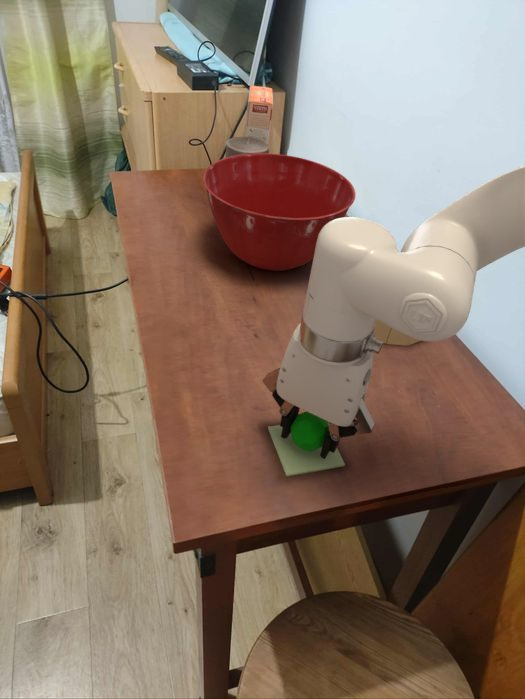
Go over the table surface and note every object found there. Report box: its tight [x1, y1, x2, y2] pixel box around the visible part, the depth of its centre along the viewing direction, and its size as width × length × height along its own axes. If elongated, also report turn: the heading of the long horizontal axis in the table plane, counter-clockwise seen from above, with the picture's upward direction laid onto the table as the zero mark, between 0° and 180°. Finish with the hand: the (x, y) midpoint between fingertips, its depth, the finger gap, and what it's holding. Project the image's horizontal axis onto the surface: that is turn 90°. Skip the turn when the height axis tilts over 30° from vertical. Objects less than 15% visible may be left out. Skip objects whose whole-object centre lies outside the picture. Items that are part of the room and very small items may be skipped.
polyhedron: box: [291, 411, 330, 451], centre depth 65 cm, size 5×5×5 cm
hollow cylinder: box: [373, 319, 422, 347], centre depth 90 cm, size 14×14×4 cm
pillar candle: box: [225, 136, 270, 158], centre depth 117 cm, size 10×10×15 cm
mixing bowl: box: [202, 152, 356, 272], centre depth 100 cm, size 28×28×16 cm
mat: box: [267, 424, 346, 478], centre depth 67 cm, size 8×8×1 cm
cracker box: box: [244, 85, 274, 145], centre depth 126 cm, size 14×6×21 cm, turn 179°
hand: (307, 440), depth 66 cm, fingers closed on polyhedron, 5 cm apart
